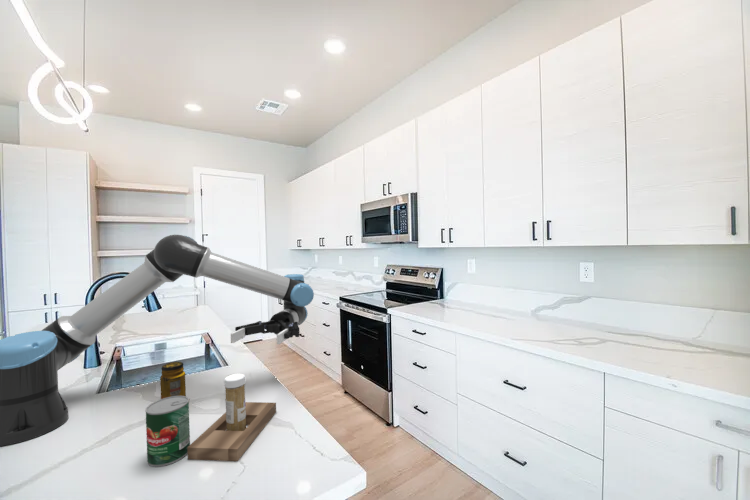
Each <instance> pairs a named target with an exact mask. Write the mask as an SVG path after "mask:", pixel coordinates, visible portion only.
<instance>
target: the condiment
mask: <svg viewBox="0 0 750 500" xmlns="http://www.w3.org/2000/svg"><path fill="white" fill-rule="evenodd" d="M159 382H160V383H159V384H160V386H159V387H160V399H163V398H167V397H172V396H186V397H187V393H186V391H187V390H186V389H187V387H186V371H184V362H182V361H173V362H171V361H170V362H168V363H165V364H163V365H162V367H161V376H160V378H159ZM190 399H191V398H189V401H190Z"/></svg>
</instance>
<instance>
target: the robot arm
mask: <svg viewBox="0 0 750 500" xmlns="http://www.w3.org/2000/svg"><path fill="white" fill-rule="evenodd" d="M184 275H186V276H189V277H193V278H196V279H197V278H199V277H205V278H208V279H211V280H215V281H218V282H222V283H225V284H228V285H231V286H235V287H238V288H242V289H244V290H248V291H252V292H255V293H259V294H261V295H265V296H267V297H270V298H275V299H278V300H281V301H283V310H281V311H279V312H277V313H275V314H274V315H272V316H271V318H270V319H269V320H268V321H263V322H262V321H261V320H259V321H256V322H252V323H247V324H244V325H239V326H235V327H234V328H235V329H234V330H235V331H233V332H231V333H230V344H235V343H236V342H238V341H241V340H242V339H244V338H245V337H246V336H251V335H257V334H274V335H276V344H277V345H281V344H282V343H283V342H284V341H287V339H288V340H289V339H290V338H291V339H292V338H294V336H295V338H299V337H300V327H299V326H300V325H302V324H303V323H304V322H305V321H306V319H307V317H308V310H307V307H306V306H309V305H310V304H311V303H312V301H313V300H314V297H315V296H314V295H315V293H314V290H313V288H312V287H311V286H310V285H309V284H308V283H305V277H304V275H303V274H301V273H292V274H285V275H281V274H278V273H275V272H272V271H269V270H266V269H263V268H259V267H257V266H254V265H252V264H247V263H245V262H241V261H238V260H236V259H232V258H230V257H227V256H224V255H221V254H217V253H214V252H212V251H211V249H210V248H209V247H207V246H204V245H201V244H199V243H198V242H197V241H196V240H195V239H193V238H192V237H190V236H187V235H182V234H170V235H167V236H165V237H162V238H161V239H160V240H159V241H158V242H157V243H156V244H155V246H154V249H152V250H151V251H150V252H148V253H146V254H145V256H144V262H143V263H141V265H139V266H137V267H136V268H135V269H134V270H132V271H131V272H130V273H128V274H126V275H125V276H123V278H121V279H120V280H118V281H117V282H116V283H114V284H113V285H111V286H110V287H109V288H107V289H106V290H105V291H103V292H102V293H101V294H99V295H98V296H97V297H95V298H94V299H92V300H91V301H89V302H88V303H87V304H86V305H84V306H83V307H81V308H80V309H78V310H77V311H76V312H74V313H73V314H72V315H61V316H60V317H58V318H56V319H55V320H54V321H53V322H51V323H50V324H48V325H47V326H46V327H44V328H43V329H42V330H35V331H26V332H21V333H18V334H14V335H10V336H7V337H3V338H2V339H1V338H0V447H3V446H9V445H14V444H18V443H21V442H24V441H28V440H31V439H34V438H37V437H40V436H41V435H46V433H49V432H51V431H53V430H56V429H57V428H59V427H60V426H62V425H63V424H65V423H66V422H67V421H68V420H69V408H68V406H67V404H66V402H65V400H64V399H63V397H62V395H61V393H60V392H59V379H58V378H59V375H58V371H59V370H61V369H62V368H63V367H65V366H66V365H67V364H70V363H71V362H74V361H75V360H76V359H77V358H78V357H80V356H81V354H82V353H84V352H85V351H86V350H87V349H89V348H90V347H91V346H92V345H94V344H95V343H96V337H97V335H98V334H99V333H101V332H102V331H103V330H105V329H106V328H107V327H109V326H110V325H111V324H112V323H114V322H116V320H118V319H119V318H120V317H121V316H124V314H126V313H127V312H129V311H130V310H131V309H132V308H134V307H135V306H136V305H137V304H138V303H140V302H141V301H143V300H144V299H145V298H147V297H148V296H149V295H150V294H152V293H153V292H155V290H157V289H158V288H160V287H161V286H162V285H165V283H175V281H177V280H178V279H179V278H181V277H182V276H184Z"/></svg>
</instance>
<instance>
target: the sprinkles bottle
mask: <svg viewBox="0 0 750 500" xmlns="http://www.w3.org/2000/svg"><path fill="white" fill-rule="evenodd" d="M223 383H224V389H225V412H226V422H227V429H226V431H244V430H245V429H246V428H247V425H246V407H245V402H246V391H245V389H246V388H245V385H246V376H245V374H243V373H233V374H230V375H227V376H226V377H225V378H224V381H223Z"/></svg>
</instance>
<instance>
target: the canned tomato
mask: <svg viewBox="0 0 750 500" xmlns="http://www.w3.org/2000/svg"><path fill="white" fill-rule="evenodd" d="M189 399H190V398H189V397H187V395H186V396H172V397H167V398H163V399H161V398H160V399H158V400H156V401H154V402H151V403H150V404H149V405H148V406H147V407H146V408H145V426H146V427H145V428H146V430H145V431H146V434H145V435H146V457H147V458H146V462H147V465H149V466H151V467H152V468H153V467H155V468H156V467H164V466H169V465H173V464H174V463H176V462H178V461H180V460H182V459H183V458H184V457H186V456H188V452H187V447H188V446H190V445H191V436H190V404H189V403H190V400H189Z"/></svg>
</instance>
